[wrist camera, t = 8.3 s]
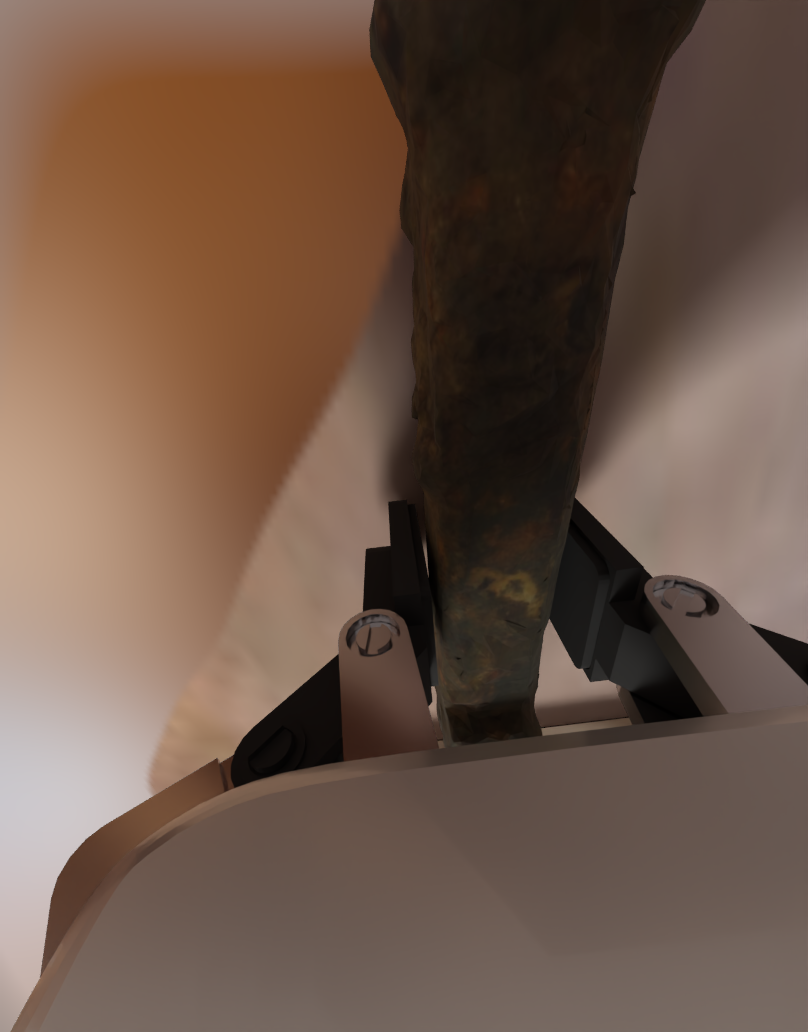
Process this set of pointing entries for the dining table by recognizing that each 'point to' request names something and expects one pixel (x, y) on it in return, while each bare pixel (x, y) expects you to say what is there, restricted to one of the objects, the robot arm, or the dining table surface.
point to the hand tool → (511, 299)
